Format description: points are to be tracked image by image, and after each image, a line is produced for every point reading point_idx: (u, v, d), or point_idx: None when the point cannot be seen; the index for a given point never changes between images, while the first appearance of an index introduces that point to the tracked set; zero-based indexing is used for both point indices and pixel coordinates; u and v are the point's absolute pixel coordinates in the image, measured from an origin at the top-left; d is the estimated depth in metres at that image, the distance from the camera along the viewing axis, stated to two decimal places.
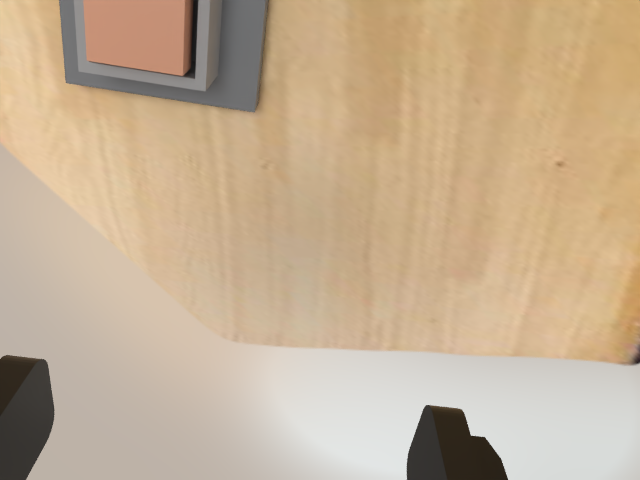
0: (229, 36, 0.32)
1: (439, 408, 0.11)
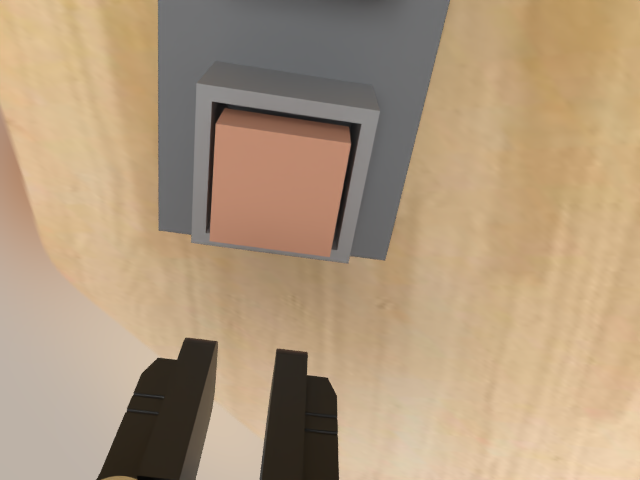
0: None
1: (285, 351, 0.12)
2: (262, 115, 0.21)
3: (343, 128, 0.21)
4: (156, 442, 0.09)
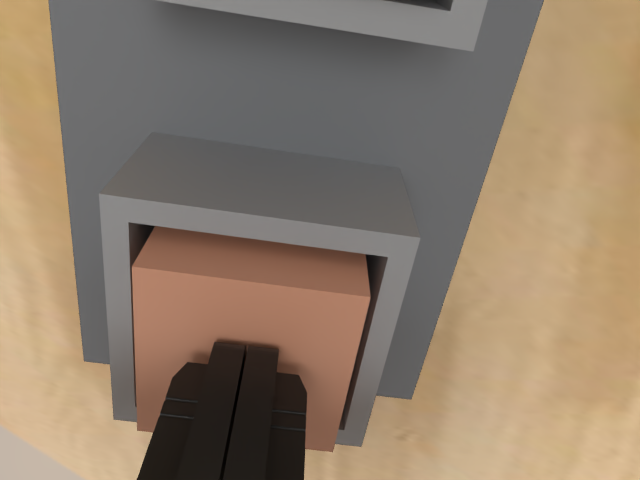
0: None
1: (256, 347, 0.12)
2: None
3: (356, 253, 0.13)
4: (193, 447, 0.09)
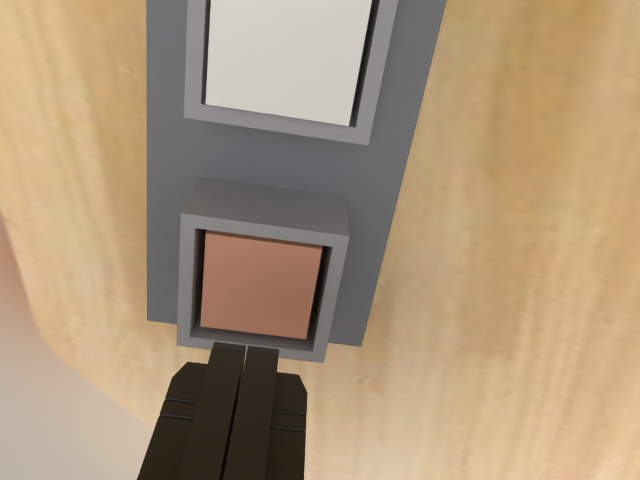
0: (340, 277, 0.28)
1: (256, 347, 0.12)
2: None
3: None
4: (193, 447, 0.09)
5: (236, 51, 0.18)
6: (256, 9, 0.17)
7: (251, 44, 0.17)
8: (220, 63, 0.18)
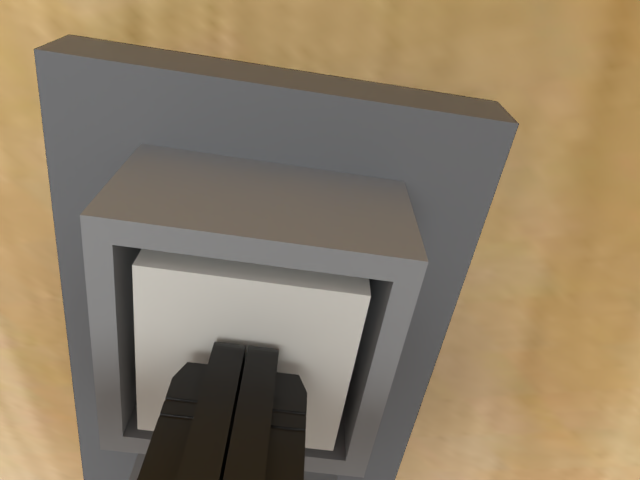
0: None
1: (256, 348, 0.12)
2: None
3: None
4: (193, 447, 0.09)
5: None
6: (198, 338, 0.12)
7: None
8: (153, 391, 0.13)
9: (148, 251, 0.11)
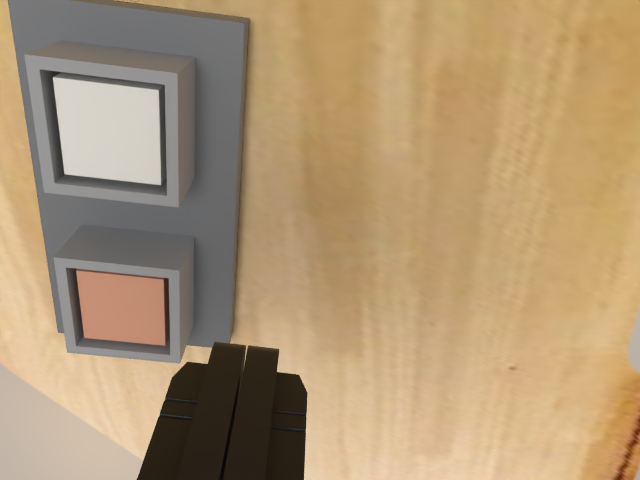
0: (201, 296, 0.36)
1: (256, 348, 0.12)
2: None
3: None
4: (192, 447, 0.09)
5: (78, 141, 0.27)
6: (86, 116, 0.26)
7: (87, 137, 0.27)
8: (69, 149, 0.27)
9: (61, 74, 0.26)
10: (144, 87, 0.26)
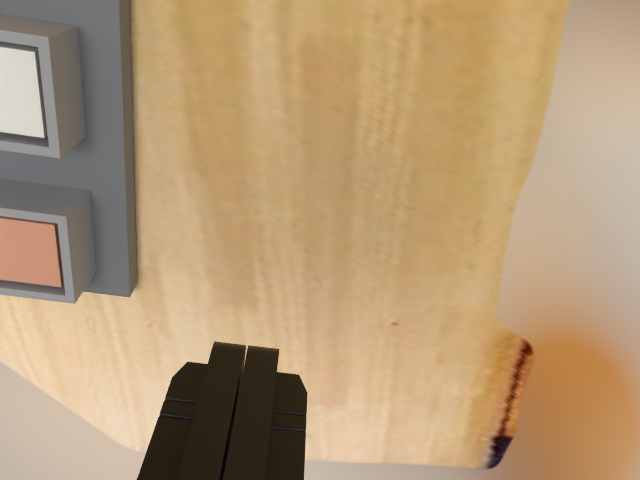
0: (101, 246, 0.40)
1: (256, 347, 0.12)
2: None
3: None
4: (192, 447, 0.09)
5: None
6: None
7: None
8: None
9: None
10: (22, 49, 0.30)
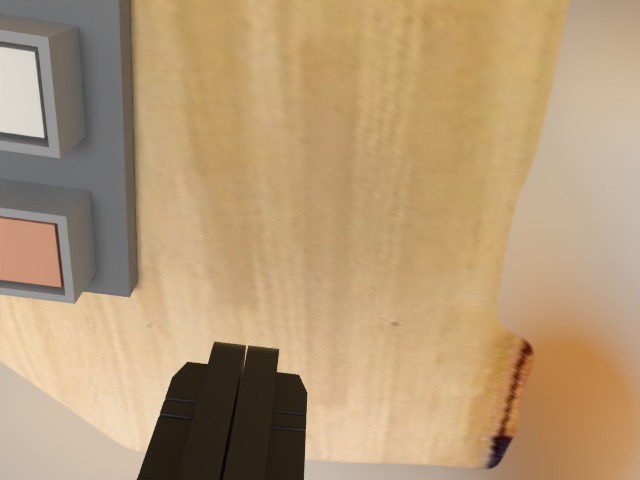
0: (101, 246, 0.40)
1: (256, 348, 0.12)
2: None
3: None
4: (192, 447, 0.09)
5: None
6: None
7: None
8: None
9: None
10: (22, 49, 0.30)
